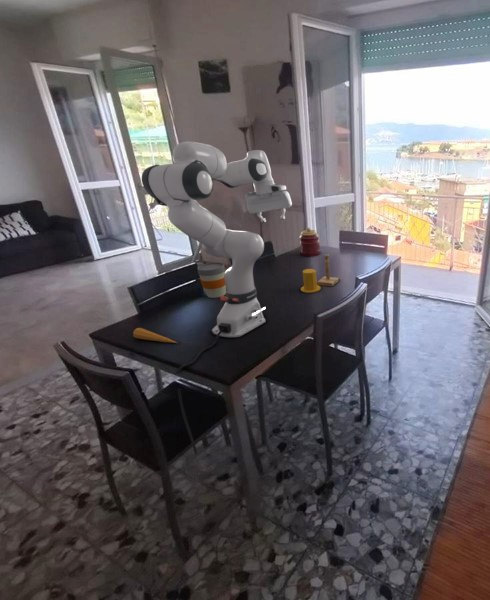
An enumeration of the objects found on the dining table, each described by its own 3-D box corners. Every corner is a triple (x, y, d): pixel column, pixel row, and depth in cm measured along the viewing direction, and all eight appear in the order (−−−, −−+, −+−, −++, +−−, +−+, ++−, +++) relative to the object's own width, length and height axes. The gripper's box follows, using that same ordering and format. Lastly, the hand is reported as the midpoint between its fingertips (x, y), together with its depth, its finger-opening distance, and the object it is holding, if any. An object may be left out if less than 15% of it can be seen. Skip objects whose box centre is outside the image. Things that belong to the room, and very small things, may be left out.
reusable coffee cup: (220, 287, 188) (214, 260, 182) (234, 292, 181) (229, 264, 175) (198, 295, 179) (191, 267, 172) (212, 301, 172) (206, 272, 166)
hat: (315, 293, 178) (313, 275, 174) (297, 291, 181) (295, 273, 177) (323, 286, 187) (322, 268, 183) (306, 284, 190) (305, 266, 186)
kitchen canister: (298, 256, 236) (295, 229, 229) (304, 250, 248) (302, 225, 240) (317, 256, 234) (315, 230, 227) (322, 251, 246) (320, 225, 238)
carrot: (134, 340, 141) (128, 333, 138) (142, 331, 144) (136, 324, 140) (177, 351, 137) (172, 344, 133) (184, 342, 140) (179, 335, 136)
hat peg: (332, 286, 187) (330, 258, 180) (317, 284, 190) (314, 256, 183) (339, 280, 195) (337, 253, 188) (324, 278, 197) (322, 251, 191)
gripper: (240, 194, 156) (249, 225, 161) (283, 186, 152) (291, 218, 157) (247, 192, 162) (255, 223, 166) (289, 185, 158) (296, 216, 162)
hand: (273, 220), depth 161 cm, fingers open, 8 cm apart
